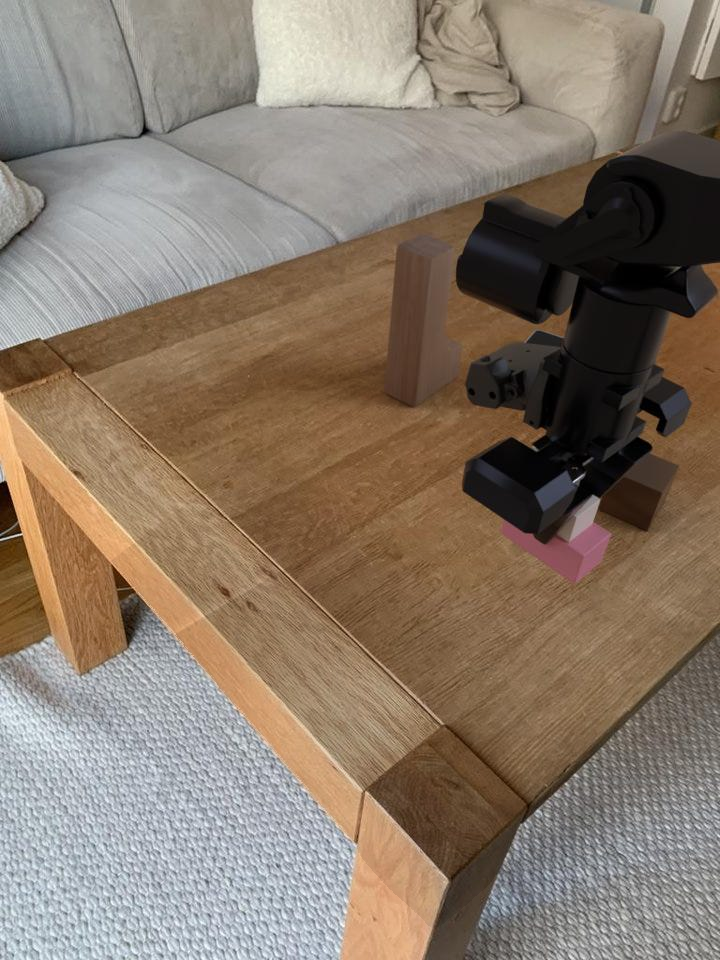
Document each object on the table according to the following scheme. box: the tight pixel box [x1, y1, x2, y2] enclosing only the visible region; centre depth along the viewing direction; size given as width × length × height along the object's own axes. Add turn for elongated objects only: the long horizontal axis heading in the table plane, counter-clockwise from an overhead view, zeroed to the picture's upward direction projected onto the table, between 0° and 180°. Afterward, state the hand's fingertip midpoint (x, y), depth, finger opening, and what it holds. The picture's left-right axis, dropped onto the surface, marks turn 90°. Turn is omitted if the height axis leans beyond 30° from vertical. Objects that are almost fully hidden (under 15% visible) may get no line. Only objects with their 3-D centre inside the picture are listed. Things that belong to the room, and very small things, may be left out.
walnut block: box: [597, 452, 680, 532], centre depth 79 cm, size 5×5×5 cm
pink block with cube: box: [500, 495, 612, 585], centre depth 61 cm, size 7×4×6 cm, turn 43°
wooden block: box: [383, 233, 463, 408], centre depth 89 cm, size 9×4×18 cm, turn 141°
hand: (556, 528), depth 61 cm, fingers closed on pink block with cube, 3 cm apart
